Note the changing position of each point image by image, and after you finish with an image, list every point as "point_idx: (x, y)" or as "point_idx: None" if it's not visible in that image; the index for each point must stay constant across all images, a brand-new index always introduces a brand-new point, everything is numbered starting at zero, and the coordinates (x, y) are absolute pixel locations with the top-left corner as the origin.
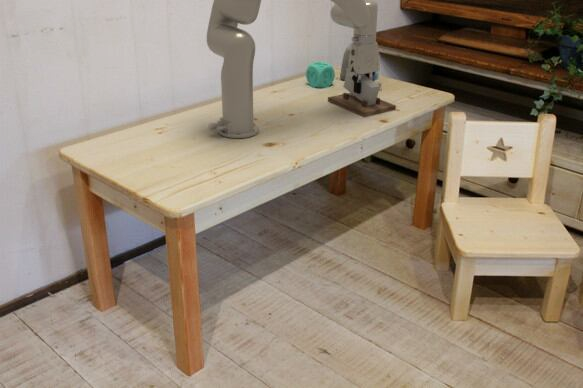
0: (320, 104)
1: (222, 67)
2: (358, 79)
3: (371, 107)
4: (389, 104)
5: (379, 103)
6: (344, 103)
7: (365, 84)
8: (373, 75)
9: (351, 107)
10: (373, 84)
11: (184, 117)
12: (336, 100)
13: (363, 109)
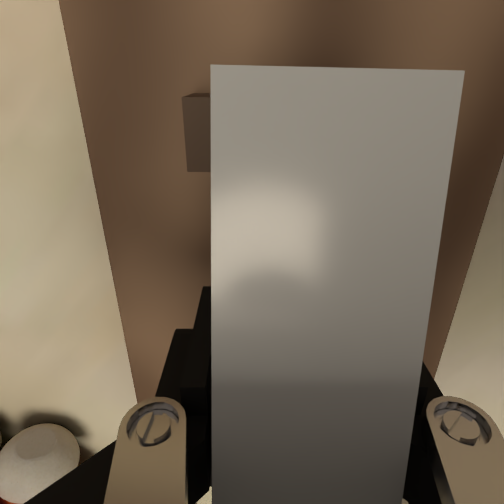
0: (489, 394)
1: None
2: (494, 453)
3: (348, 56)
4: (99, 19)
5: (200, 93)
6: (447, 293)
7: (417, 289)
8: (63, 479)
9: (492, 184)
10: (302, 195)
11: None
12: (430, 369)
13: (473, 51)
